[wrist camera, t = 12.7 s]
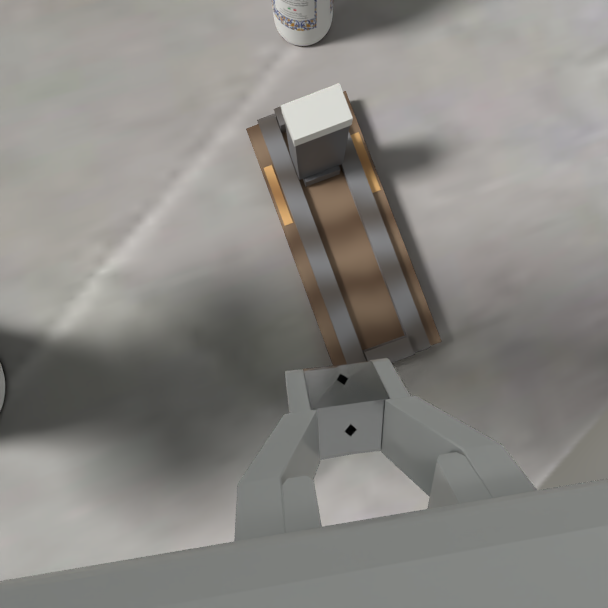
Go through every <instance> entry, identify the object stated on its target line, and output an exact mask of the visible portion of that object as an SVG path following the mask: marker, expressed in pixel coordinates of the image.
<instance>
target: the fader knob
mask: <svg viewBox="0 0 608 608" xmlns="http://www.w3.org/2000/svg"><path fill="white" fill-rule="evenodd" d="M281 110H282V114H283V117H284V120H285V127H286V133H287V139H288V145H289V151H290V156H291V158H292V161H293V164H294V167H295V169H296V172H297V175H298V177H299V180H301V179H303V181H304V183H305V186H306V187H307V186H309V185H312V184H315V183H317V182H320V181H323V180H325V179H328V178H331V177H333V176H336V175H339V174H340V167H339V165H341V164H343V161H344V156H345V150H346V145H347V139H348V133H349V128H350V126H351V125H352V120H353V117H352V115H351V112H350V109H349V107H348V104H347V102H346V99H345V96H344V94H343V91H342V89H341V86H340V83H338V84H336V85H333V86H330V87H328V88H325V89H322V90H320V91H317V92H315V93H312V94H309V95H307V96H304V97H301V98H299V99H296V100H294V101H291V102H288V103H286V104H283V105H281Z"/></svg>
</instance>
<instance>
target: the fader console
mask: <svg viewBox="0 0 608 608" xmlns="http://www.w3.org/2000/svg"><path fill="white" fill-rule="evenodd" d="M343 94H344V96H345V99H346V102H347V104H348V107H349V109H350V112H351V115H352V117H353V120H352V125H351V126H350V128H349V133H348V139H347V145H346V150H345V156H344V161H343V164H341V165H339V167H340V174H339V175H336V176H333V177H331V178H328V179H325V180H323V181H320V182H317V183H315V184H312V185H309V186H307V187H306V186H305V183H304V181H303V179H301V180H299V177H298V175H297V172H296V169H295V167H294V164H293V161H292V158H291V156H290V151H289V145H288V139H287V133H286V127H285V120H284V117H283V114H282V110H281V107H278V108H275V109H274V111H275V114H272V115H269V116H267V117H264V118H261V119H259V120H257V121H258V124H257V125H255V126H252V127H250V128H247V129H246V130H247V132H248V135H249V138H250V141H251V143H252V146H253V149H254V151H255V154H256V157H257V160H258V162H259V165H260V168H261V171H262V173H263V176H264V179H265V181H266V184H267V187H268V190H269V192H270V195H271V198H272V200H273V203H274V206H275V209H276V211H277V214H278V217H279V220H280V222H281V225H282V228H283V230H284V233H285V236H286V239H287V241H288V244H289V247H290V249H291V252H292V255H293V258H294V260H295V263H296V266H297V269H298V271H299V274H300V277H301V279H302V282H303V285H304V288H305V290H306V293H307V296H308V298H309V301H310V304H311V307H312V309H313V312H314V315H315V318H316V320H317V323H318V326H319V328H320V331H321V334H322V337H323V339H324V342H325V345H326V348H327V350H328V353H329V356H330V358H331V361H332V364H333V366H335V365H344V364H351V363H359V362H366V361H370V360H377V359H383V358H388V359H389V360H390V361H391V363H393V362H396V361H398V360H401V359H404V358H407V357H410V356H412V355H415V354H414V353H416V352H419V351H422V350H424V349H427V348H430V347H431V345H434V344H437V343H439V342H442V341H441V339H440V336H439V333H438V331H437V328H436V326H435V323H434V320H433V318H432V315H431V313H430V310H429V307H428V305H427V302H426V299H425V297H424V294H423V292H422V289H421V286H420V284H419V281H418V279H417V276H416V273H415V271H414V268H413V266H412V263H411V260H410V258H409V255H408V253H407V250H406V247H405V245H404V242H403V239H402V237H401V234H400V232H399V229H398V226H397V224H396V221H395V219H394V216H393V213H392V211H391V208H390V206H389V203H388V200H387V198H386V195H385V192H384V190H383V187H382V185H381V182H380V179H379V177H378V174H377V172H376V169H375V166H374V164H373V161H372V159H371V156H370V153H369V151H368V148H367V146H366V143H365V140H364V138H363V135H362V132H361V130H360V127H359V125H358V122H357V119H356V117H355V114H354V112H353V109H352V106H351V104H350V101H349V99H348V96H347V93H346V91H344V92H343ZM275 116H276V117H275Z"/></svg>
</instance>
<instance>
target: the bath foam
mask: <svg viewBox="0 0 608 608" xmlns="http://www.w3.org/2000/svg"><path fill="white" fill-rule="evenodd" d="M271 1H272V7H273V14H274V20H275V25H276V28H277V30H278V32H279V33H280V35H281V36H282V37H283V38H284V39H285V40H286V41H288V42H289V43H291V44H294V45H298V46H308V45H312V44H314V43H316V42H318V41H320V40H321V39H322V38H323V37H324V36H325V35H326V34H327V32H328V30H329V28H330V26H331V23H332V17H333V3H334V0H271Z"/></svg>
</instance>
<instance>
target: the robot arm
mask: <svg viewBox="0 0 608 608" xmlns="http://www.w3.org/2000/svg"><path fill="white" fill-rule="evenodd" d="M285 380H286V389H287V399H288V408H289V413H287V414H284V415H283V417H282V418H281V420H280V421H279V423H278V424H277V426H276V427H275V429H274V430H273V432H272V433H271V435H270V436H269V438H268V439H267V441H266V442H265V444H264V445H263V447H262V448H261V450H260V451H259V453H258V454H257V456H256V457H255V459H254V460H253V462H252V463H251V465H250V466H249V468H248V469H247V471H246V472H245V474H244V475H243V477H242V478H241V480H240V481H239V483H238V486H237V504H236V522H235V540H234V542H229V543H223V544H217V545H211V546H205V547H199V548H194V549H188V550H182V551H176V552H170V553H164V554H158V555H152V556H146V557H140V558H134V559H128V560H122V561H117V562H111V563H105V564H99V565H93V566H87V567H81V568H75V569H69V570H63V571H57V572H51V573H45V574H40V575H34V576H28V577H22V578H16V579H10V580H4V581H0V608H608V479H602V480H597V481H590V482H584V483H578V484H572V485H566V486H560V487H554V488H549V489H543V490H537V489H536V488H535V487H534V486H533V484H532V483H531V482H530V480H529V479H528V478H527V476H526V475H525V474H524V473H523V471H522V470H521V469H520V467H519V466H518V465H517V464H516V462H515V461H514V460H513V458H512V457H511V456H510V454H509V453H508V452H507V451H506V449H505V448H504V447H503V445H502V444H500V443H499V442H497V441H495V440H493V439H492V438H490V437H488V436H486V435H485V434H483V433H481V432H479V431H478V430H476V429H474V428H472V427H470V426H469V425H467V424H465V423H463V422H462V421H460V420H458V419H456V418H455V417H453V416H451V415H449V414H448V413H446V412H444V411H442V410H441V409H439V408H437V407H435V406H433V405H432V404H430V403H428V402H426V401H425V400H423V399H421V398H419V397H418V396H410V394H409V392H408V391H407V389H406V387H405V385H404V384H403V382H402V380H401V379H400V377H399V375H398V373H397V372H396V370H395V368H394V367H393V365H392V363H391V361H390V360H389V359H388V358H383V359H377V360H370V361H366V362H359V363H351V364H344V365H335V366H326V367H316V368H307V369H303V370H302V369H300V370H291V371H285ZM4 396H5V378H4V373H3V369H2V366H1V363H0V411H1V408H2V405H3V401H4ZM381 450H382V451H381ZM373 451H381V452H382V453H383V454H384V455H385V456H386V457H387V458H388V459H389V460H391V461H392V462H393V463H394V464H395V465H396V466H397V467H398V468H399V469H400V470H401V471H402V472H404V473H405V474H406V475H407V476H408V477H409V478H410V479H411V480H412V481H413V482H414V483H415V484H417V485H418V486H419V487H420V488H421V489H422V490H423V491H424V492H425V493H426V494H427V495H428V496H429V497H430V498H429V504H428V509H425V510H419V511H413V512H407V513H401V514H395V515H390V516H384V517H378V518H372V519H366V520H360V521H354V522H348V523H342V524H336V525H330V526H324V527H322V525H321V520H320V514H319V508H318V503H317V497H316V491H315V486H314V480H313V479H314V476H315V474H316V471H317V469H318V466H319V464H320V460H322V459H327V458H333V457H338V456H344V455H349V454H357V453H365V452H373Z"/></svg>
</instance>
